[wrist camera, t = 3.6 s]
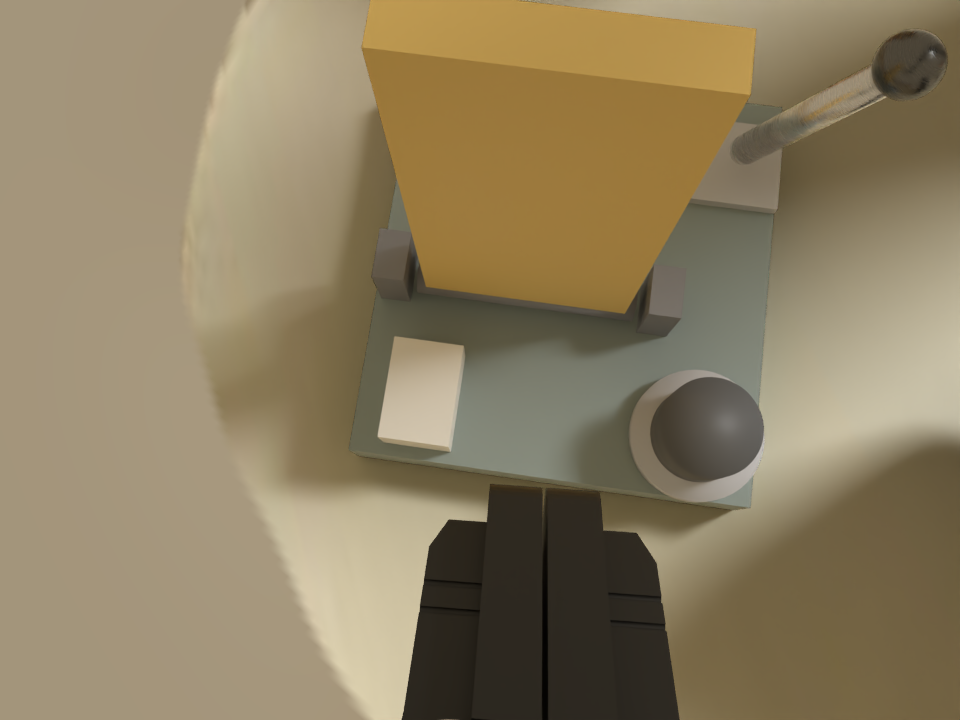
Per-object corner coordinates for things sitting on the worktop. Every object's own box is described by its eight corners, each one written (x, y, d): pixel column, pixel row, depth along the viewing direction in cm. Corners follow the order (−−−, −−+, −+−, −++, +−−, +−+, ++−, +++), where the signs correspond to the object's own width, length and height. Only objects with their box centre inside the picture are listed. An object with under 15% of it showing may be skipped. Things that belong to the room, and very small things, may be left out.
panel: (421, 91, 33) (410, 20, 28) (767, 134, 32) (811, 69, 28) (357, 458, 30) (333, 444, 25) (735, 513, 29) (779, 508, 25)
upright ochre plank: (425, 257, 29) (357, -24, 14) (633, 285, 28) (775, 25, 14) (419, 297, 29) (343, 50, 14) (628, 326, 28) (768, 102, 14)
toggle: (715, 122, 29) (915, 5, 22) (757, 138, 29) (964, 30, 22) (711, 171, 28) (912, 69, 21) (754, 187, 29) (962, 93, 22)
